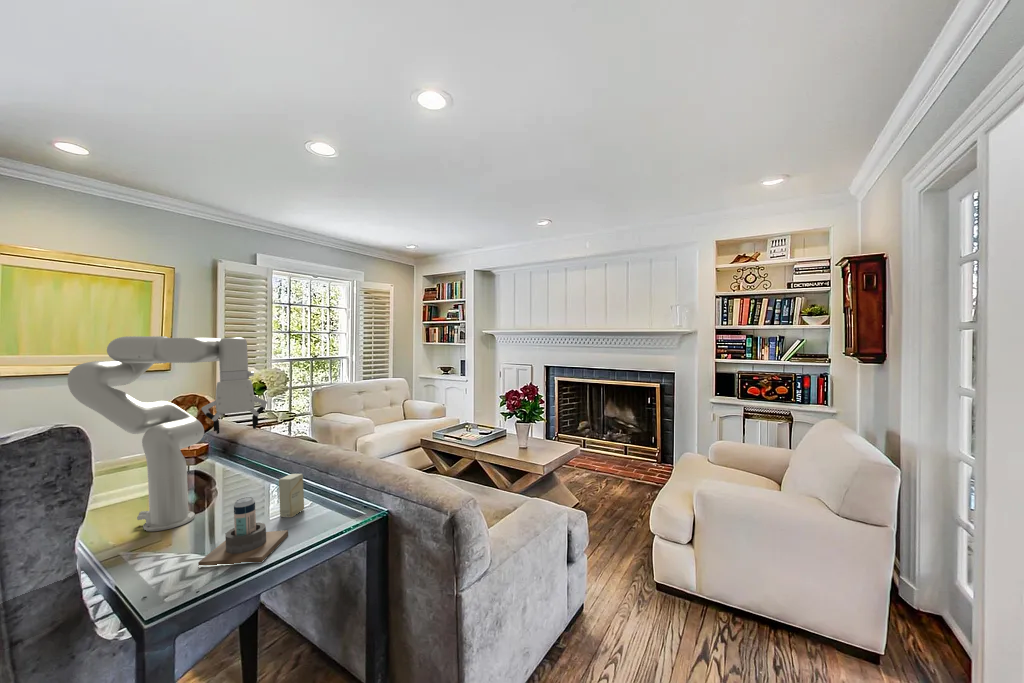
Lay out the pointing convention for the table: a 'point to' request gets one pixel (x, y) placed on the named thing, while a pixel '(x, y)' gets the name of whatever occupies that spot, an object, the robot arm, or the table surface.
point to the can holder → (245, 547)
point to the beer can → (244, 516)
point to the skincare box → (291, 495)
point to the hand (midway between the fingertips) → (236, 430)
